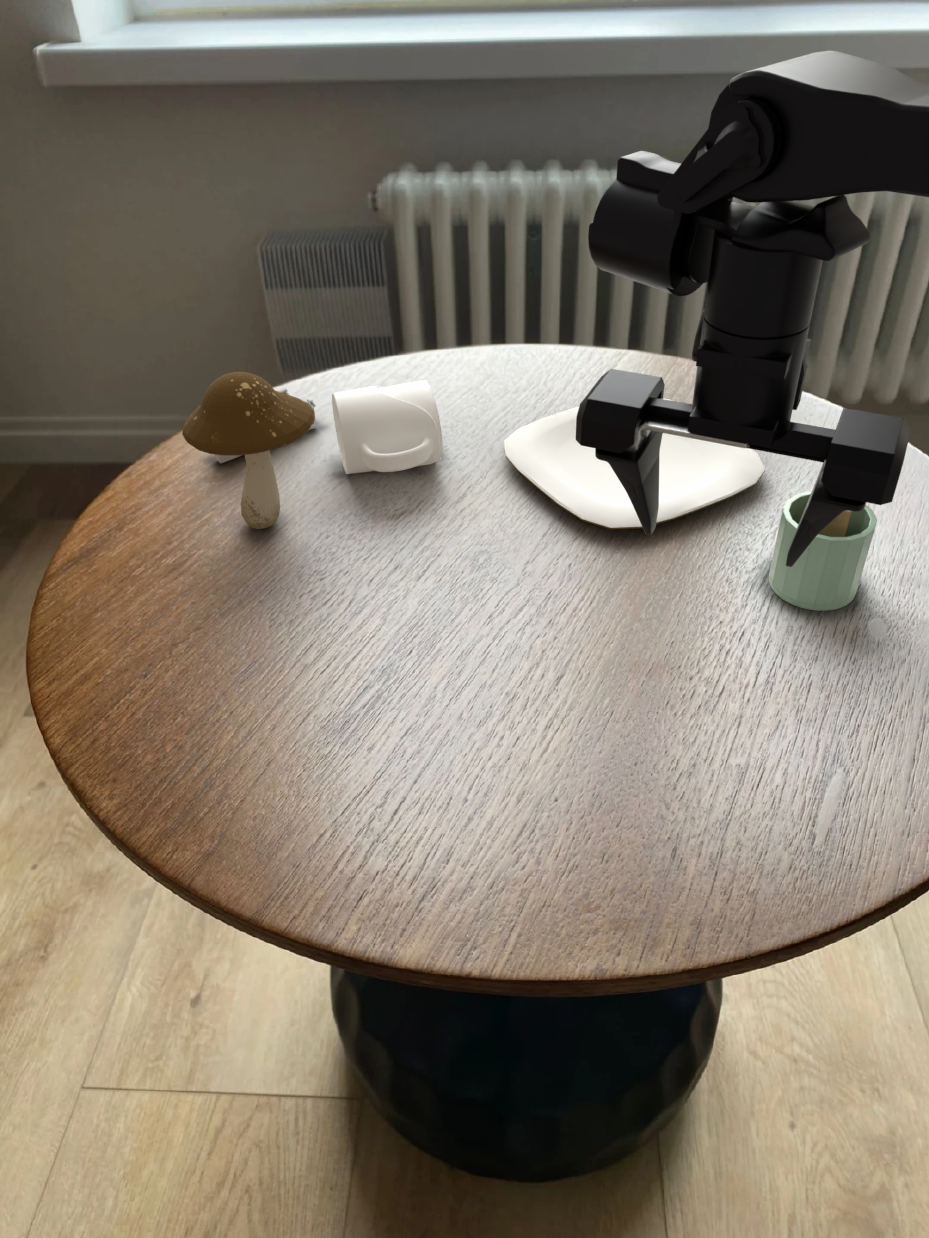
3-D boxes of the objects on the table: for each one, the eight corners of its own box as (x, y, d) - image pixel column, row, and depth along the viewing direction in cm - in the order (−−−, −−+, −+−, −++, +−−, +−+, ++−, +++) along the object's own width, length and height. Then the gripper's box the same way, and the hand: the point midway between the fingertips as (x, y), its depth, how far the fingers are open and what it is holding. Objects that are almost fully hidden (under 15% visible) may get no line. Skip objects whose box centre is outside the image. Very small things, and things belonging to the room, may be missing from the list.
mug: (337, 446, 101) (327, 375, 96) (424, 432, 102) (419, 362, 97) (354, 507, 92) (345, 433, 87) (450, 491, 93) (446, 418, 88)
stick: (834, 574, 81) (856, 493, 76) (829, 593, 79) (851, 512, 74) (800, 566, 82) (819, 486, 77) (794, 585, 80) (813, 504, 75)
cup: (861, 570, 82) (882, 501, 77) (849, 619, 77) (869, 548, 73) (778, 551, 84) (793, 483, 80) (760, 598, 80) (775, 528, 75)
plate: (479, 450, 99) (479, 436, 98) (649, 396, 107) (650, 381, 106) (605, 557, 84) (606, 541, 83) (790, 485, 92) (793, 469, 91)
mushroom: (338, 538, 88) (316, 388, 78) (211, 562, 86) (173, 410, 76) (321, 487, 95) (299, 342, 85) (203, 508, 93) (167, 362, 83)
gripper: (950, 287, 56) (884, 513, 66) (637, 249, 62) (620, 460, 72) (932, 368, 48) (860, 609, 58) (577, 315, 54) (568, 540, 65)
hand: (718, 546), depth 63 cm, fingers open, 9 cm apart
